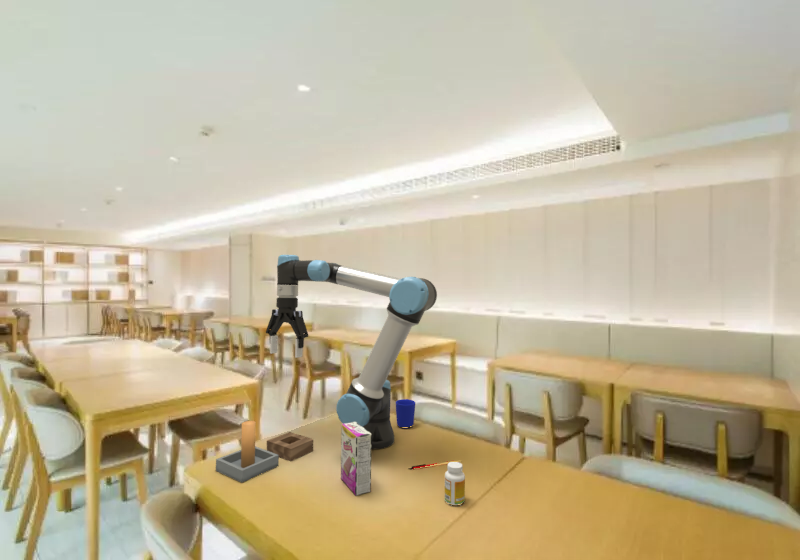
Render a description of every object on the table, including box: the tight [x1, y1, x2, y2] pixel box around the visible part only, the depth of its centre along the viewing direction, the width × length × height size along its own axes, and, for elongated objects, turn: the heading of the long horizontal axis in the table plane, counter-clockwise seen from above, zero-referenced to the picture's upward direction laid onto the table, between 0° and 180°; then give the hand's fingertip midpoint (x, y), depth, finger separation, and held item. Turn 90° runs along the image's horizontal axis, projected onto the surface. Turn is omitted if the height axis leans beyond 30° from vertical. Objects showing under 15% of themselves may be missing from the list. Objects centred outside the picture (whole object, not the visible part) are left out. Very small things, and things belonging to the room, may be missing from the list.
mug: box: [395, 398, 416, 428], centre depth 162 cm, size 8×12×10 cm
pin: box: [240, 420, 256, 468], centre depth 121 cm, size 4×4×13 cm
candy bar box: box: [340, 422, 372, 497], centre depth 111 cm, size 11×5×16 cm, turn 31°
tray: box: [215, 445, 280, 484], centre depth 120 cm, size 13×13×4 cm
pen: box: [407, 462, 438, 470], centre depth 125 cm, size 1×19×1 cm, turn 111°
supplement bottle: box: [444, 462, 466, 506], centre depth 104 cm, size 5×5×10 cm
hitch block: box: [266, 431, 314, 462], centre depth 133 cm, size 12×10×4 cm
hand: (285, 355), depth 142 cm, fingers open, 13 cm apart
